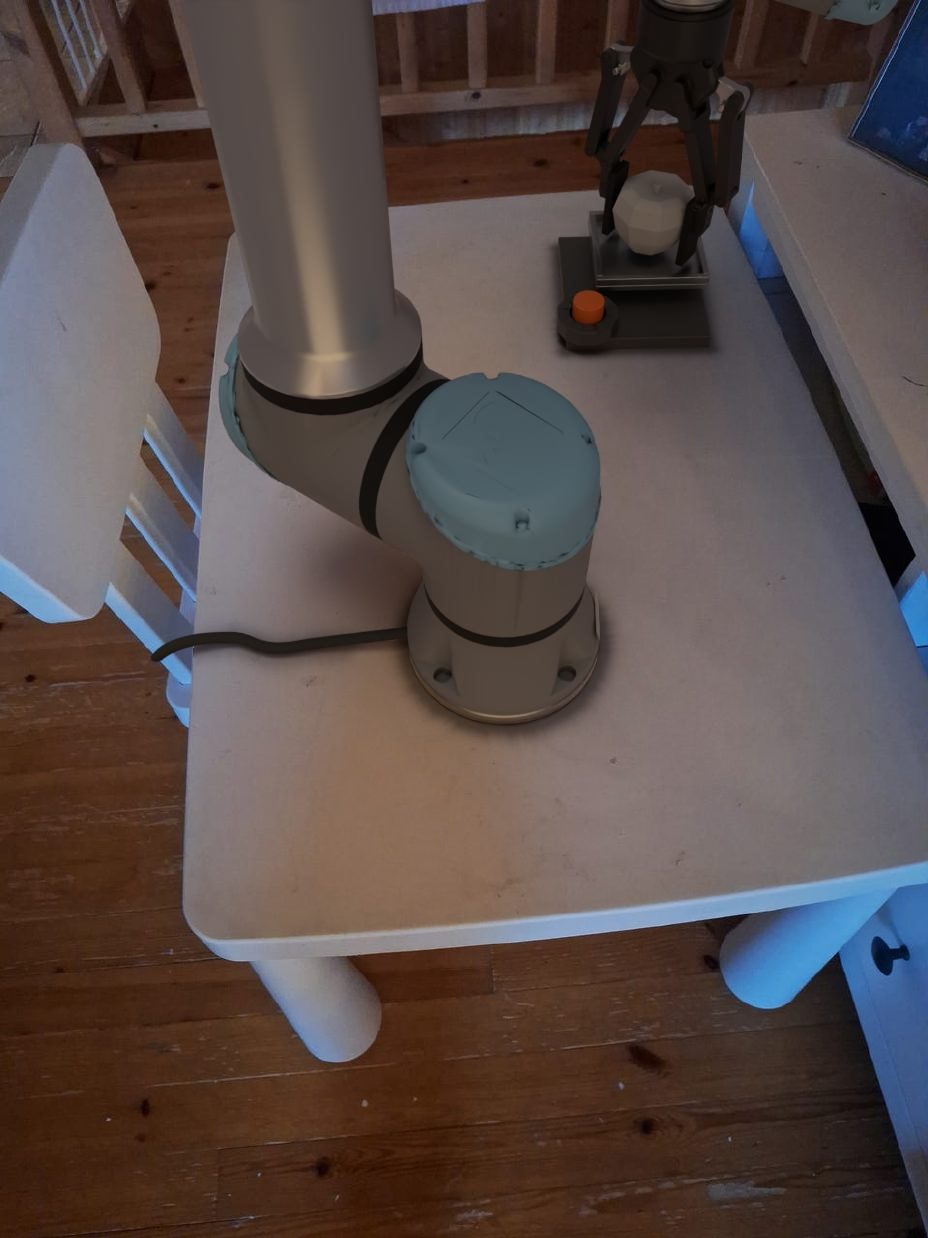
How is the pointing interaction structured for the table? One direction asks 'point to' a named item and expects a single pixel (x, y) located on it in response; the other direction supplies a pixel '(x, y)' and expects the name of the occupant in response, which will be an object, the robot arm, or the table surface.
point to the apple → (651, 211)
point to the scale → (626, 310)
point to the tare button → (588, 307)
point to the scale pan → (641, 264)
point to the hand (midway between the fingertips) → (647, 242)
